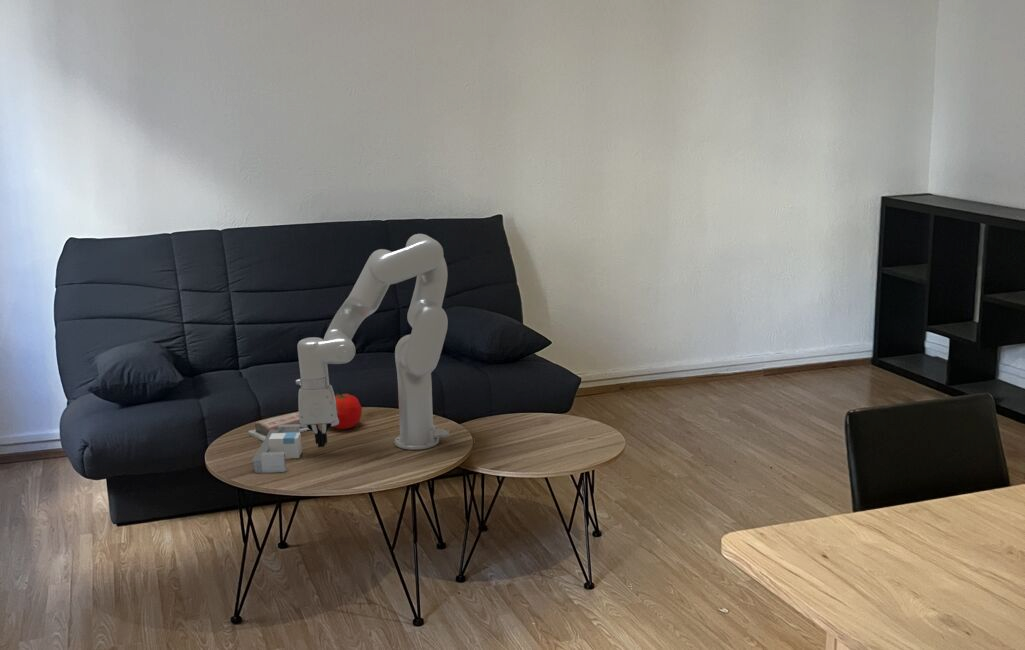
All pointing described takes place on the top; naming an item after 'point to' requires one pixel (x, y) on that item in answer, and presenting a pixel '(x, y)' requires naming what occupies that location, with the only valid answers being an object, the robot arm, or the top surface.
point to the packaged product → (275, 425)
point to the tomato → (347, 411)
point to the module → (286, 444)
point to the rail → (272, 453)
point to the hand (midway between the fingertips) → (321, 445)
